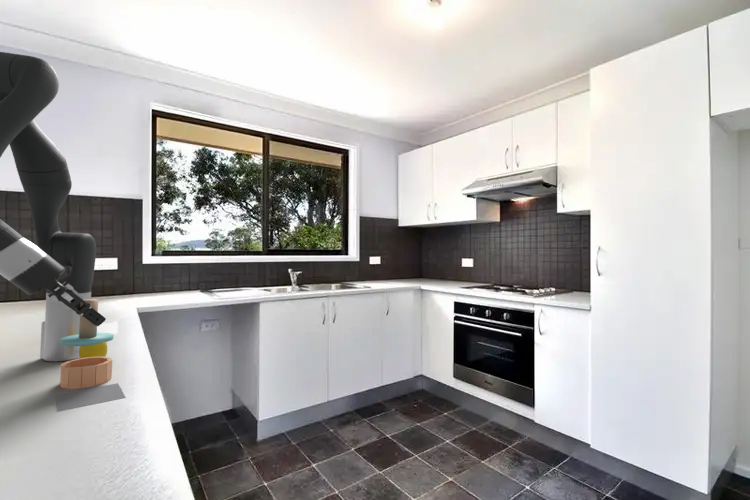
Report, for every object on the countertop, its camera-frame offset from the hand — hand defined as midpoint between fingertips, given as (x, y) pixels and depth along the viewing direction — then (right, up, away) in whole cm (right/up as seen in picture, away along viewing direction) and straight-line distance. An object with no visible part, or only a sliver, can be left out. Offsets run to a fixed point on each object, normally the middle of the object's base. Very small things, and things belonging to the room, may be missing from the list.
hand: (100, 321), depth 80 cm
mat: (+5, -13, -9) cm, 17 cm away
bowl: (-2, -13, -2) cm, 13 cm away
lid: (-2, -4, -2) cm, 5 cm away
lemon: (-9, -13, +9) cm, 19 cm away
